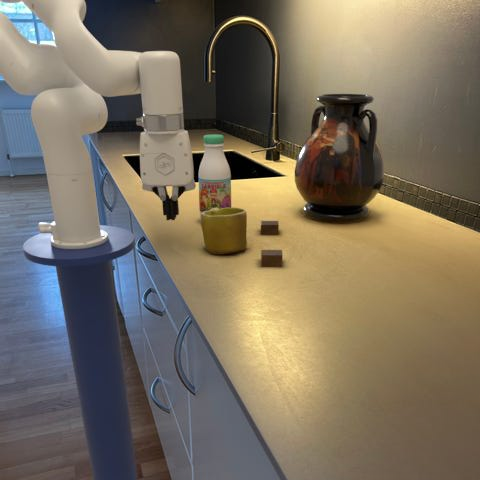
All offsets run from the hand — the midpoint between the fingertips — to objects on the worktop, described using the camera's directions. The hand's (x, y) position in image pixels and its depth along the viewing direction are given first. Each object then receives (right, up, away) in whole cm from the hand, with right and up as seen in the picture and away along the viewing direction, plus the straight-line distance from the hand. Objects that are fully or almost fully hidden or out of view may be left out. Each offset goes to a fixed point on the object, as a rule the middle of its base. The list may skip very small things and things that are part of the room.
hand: (171, 218), depth 106 cm
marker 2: (+20, -10, -7) cm, 24 cm away
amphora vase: (+38, +5, +24) cm, 46 cm away
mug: (+11, -6, +3) cm, 12 cm away
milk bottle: (+8, +3, +20) cm, 22 cm away
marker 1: (+21, -1, +11) cm, 24 cm away
